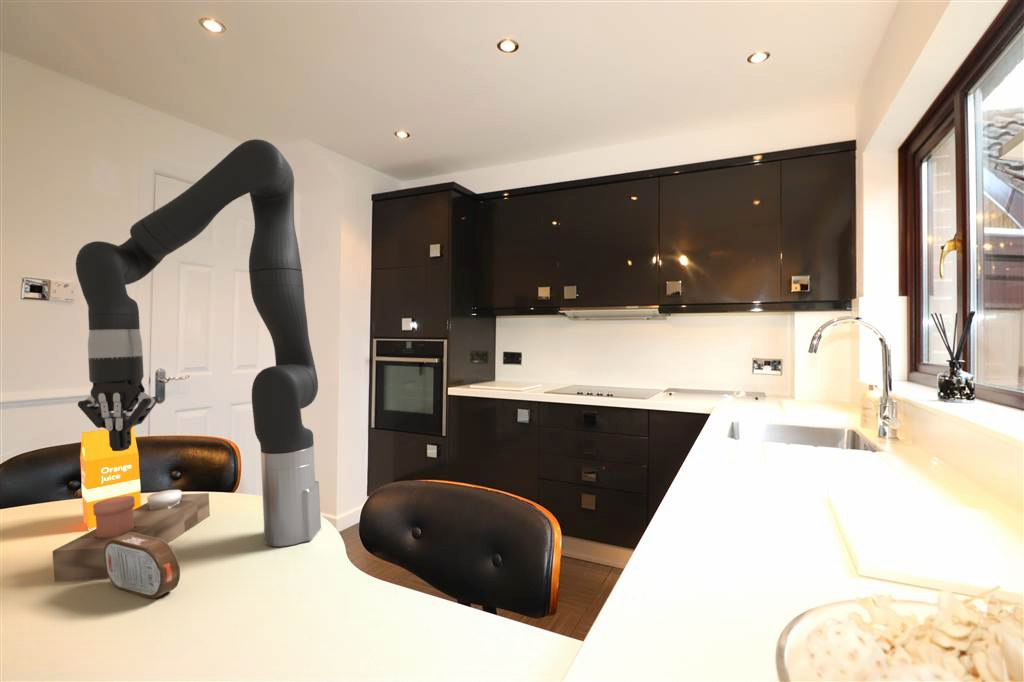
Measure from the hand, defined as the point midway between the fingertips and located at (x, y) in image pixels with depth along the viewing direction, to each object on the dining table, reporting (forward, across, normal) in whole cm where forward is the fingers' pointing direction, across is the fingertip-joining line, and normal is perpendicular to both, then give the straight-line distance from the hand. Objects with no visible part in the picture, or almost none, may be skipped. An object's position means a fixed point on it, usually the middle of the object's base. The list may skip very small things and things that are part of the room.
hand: (120, 450), depth 85 cm
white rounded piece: (+18, 0, -11) cm, 21 cm away
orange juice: (+19, +16, -18) cm, 31 cm away
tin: (+19, -13, +13) cm, 27 cm away
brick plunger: (+15, 0, +2) cm, 15 cm away
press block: (+19, 0, -4) cm, 20 cm away
